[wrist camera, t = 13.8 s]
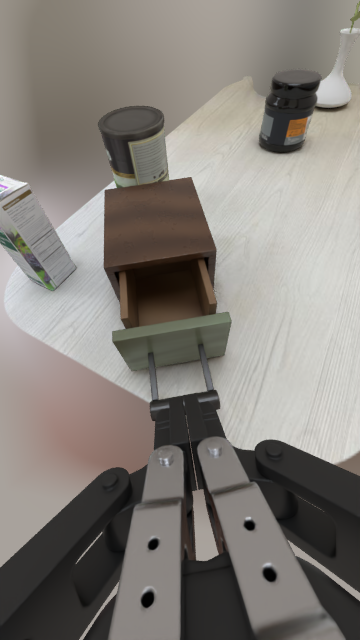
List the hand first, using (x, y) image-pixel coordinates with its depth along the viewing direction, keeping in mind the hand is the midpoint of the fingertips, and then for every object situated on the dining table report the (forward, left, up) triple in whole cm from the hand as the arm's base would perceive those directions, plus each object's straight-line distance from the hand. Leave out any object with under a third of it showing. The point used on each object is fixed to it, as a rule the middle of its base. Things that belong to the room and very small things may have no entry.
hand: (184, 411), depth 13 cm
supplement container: (+33, +61, -16) cm, 71 cm away
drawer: (0, +13, -15) cm, 20 cm away
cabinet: (0, +26, -16) cm, 30 cm away
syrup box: (-18, +29, -16) cm, 38 cm away
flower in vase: (+54, +80, -16) cm, 98 cm away
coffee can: (-1, +45, -16) cm, 48 cm away
